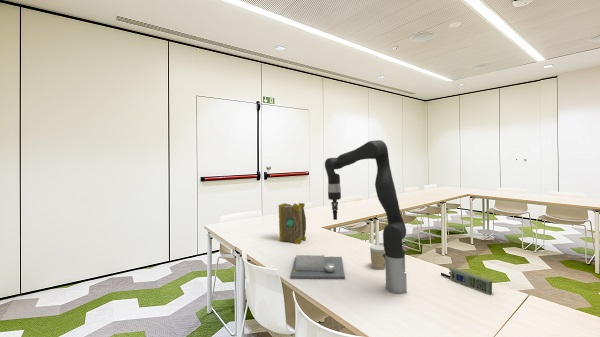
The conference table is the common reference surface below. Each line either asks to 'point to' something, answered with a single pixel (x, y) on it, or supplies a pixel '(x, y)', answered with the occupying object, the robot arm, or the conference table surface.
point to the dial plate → (320, 271)
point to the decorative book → (292, 222)
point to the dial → (313, 263)
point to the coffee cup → (377, 257)
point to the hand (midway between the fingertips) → (335, 218)
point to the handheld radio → (470, 280)
